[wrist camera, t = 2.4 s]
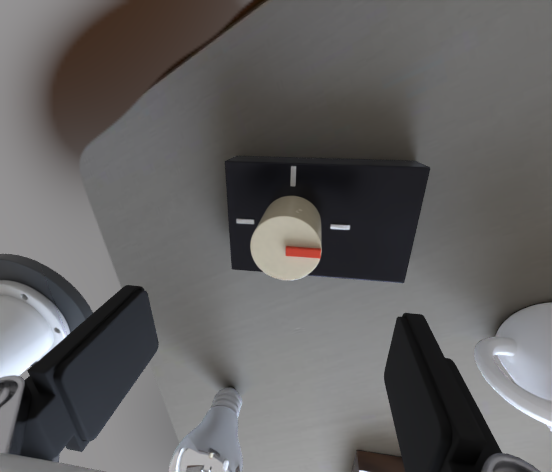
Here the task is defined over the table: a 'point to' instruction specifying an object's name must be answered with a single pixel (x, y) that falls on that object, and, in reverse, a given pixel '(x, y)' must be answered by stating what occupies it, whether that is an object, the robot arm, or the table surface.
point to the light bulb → (213, 439)
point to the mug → (522, 361)
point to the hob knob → (288, 239)
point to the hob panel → (333, 210)
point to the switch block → (377, 462)
